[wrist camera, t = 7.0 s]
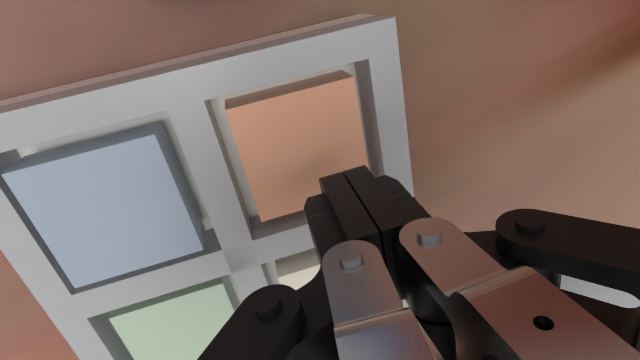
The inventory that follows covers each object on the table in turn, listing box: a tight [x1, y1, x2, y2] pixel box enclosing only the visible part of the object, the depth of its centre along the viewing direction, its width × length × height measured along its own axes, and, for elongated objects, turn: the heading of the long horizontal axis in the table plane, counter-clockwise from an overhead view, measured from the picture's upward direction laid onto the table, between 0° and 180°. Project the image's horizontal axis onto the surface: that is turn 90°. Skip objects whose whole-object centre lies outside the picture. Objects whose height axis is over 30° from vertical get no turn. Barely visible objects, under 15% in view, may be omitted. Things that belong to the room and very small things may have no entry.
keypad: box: [0, 13, 414, 360], centre depth 18 cm, size 16×16×4 cm
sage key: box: [109, 275, 240, 360], centre depth 19 cm, size 5×5×2 cm
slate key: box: [1, 121, 205, 288], centre depth 15 cm, size 5×5×2 cm
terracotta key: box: [225, 70, 369, 222], centre depth 16 cm, size 5×5×2 cm
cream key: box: [275, 248, 320, 290], centre depth 19 cm, size 5×5×2 cm
